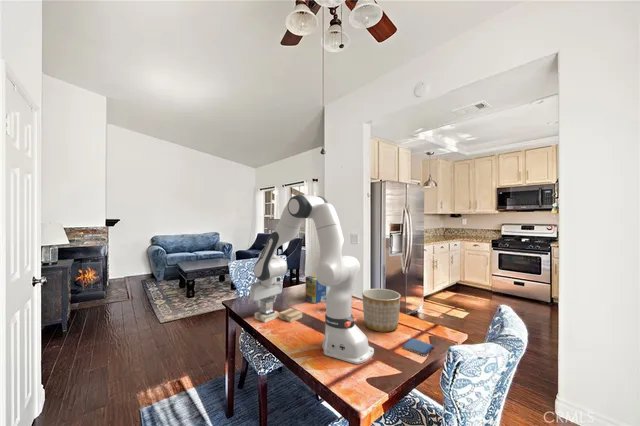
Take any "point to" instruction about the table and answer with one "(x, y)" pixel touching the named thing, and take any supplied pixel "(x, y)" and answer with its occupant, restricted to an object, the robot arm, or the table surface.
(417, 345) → the blue sponge
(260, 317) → the stand
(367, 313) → the planter
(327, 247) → the robot arm
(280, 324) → the table surface
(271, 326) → the table surface
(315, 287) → the protein box
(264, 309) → the housing
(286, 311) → the stand
